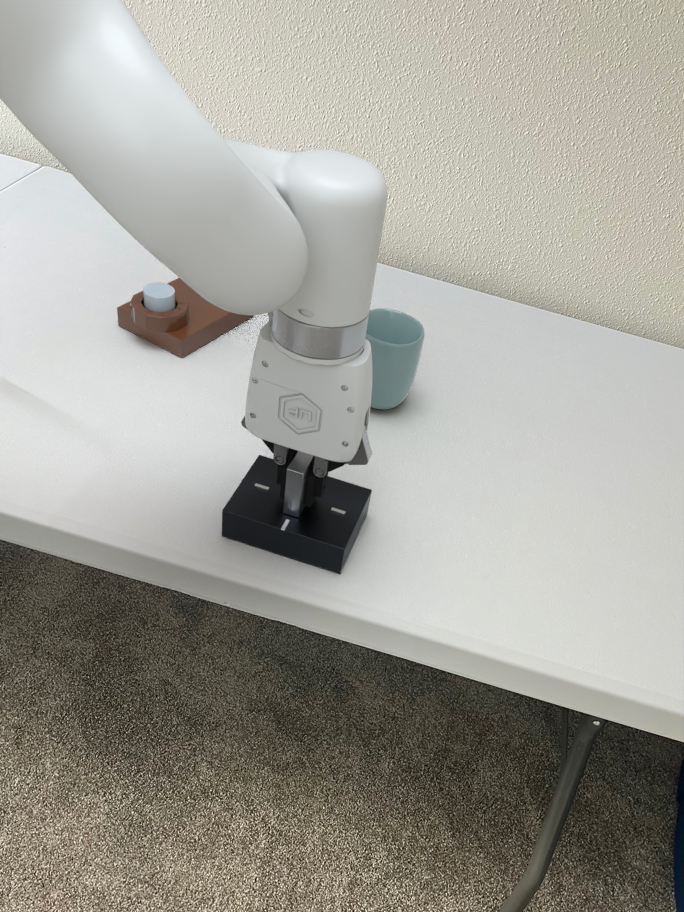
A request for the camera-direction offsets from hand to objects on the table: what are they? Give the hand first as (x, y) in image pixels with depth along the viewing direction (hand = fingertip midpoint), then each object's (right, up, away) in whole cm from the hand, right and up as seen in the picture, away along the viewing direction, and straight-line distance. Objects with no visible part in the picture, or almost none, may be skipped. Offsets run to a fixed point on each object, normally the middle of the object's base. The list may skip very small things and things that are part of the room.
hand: (300, 493), depth 75 cm
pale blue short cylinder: (-19, +24, +19) cm, 36 cm away
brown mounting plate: (-18, +23, +25) cm, 39 cm away
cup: (+7, +13, +21) cm, 25 cm away
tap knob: (0, -1, +1) cm, 1 cm away
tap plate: (-1, -3, +3) cm, 4 cm away
